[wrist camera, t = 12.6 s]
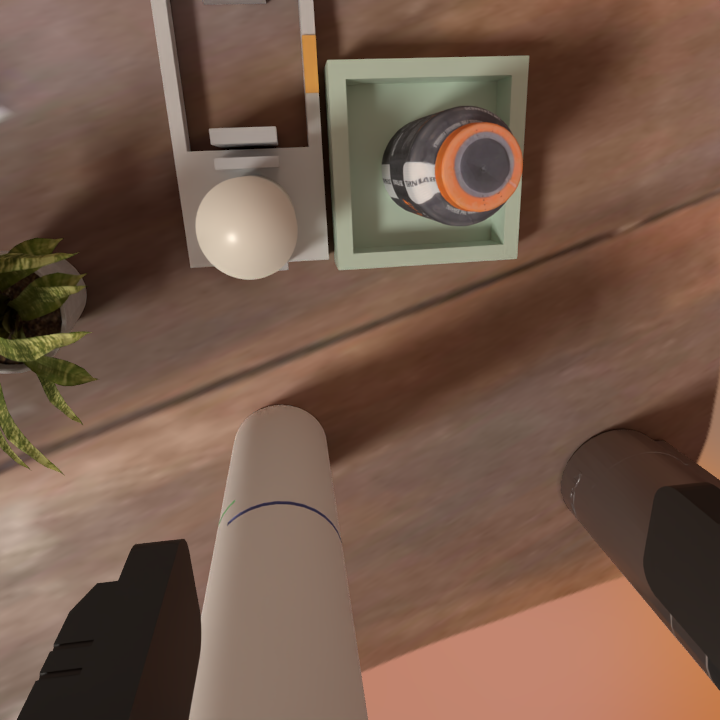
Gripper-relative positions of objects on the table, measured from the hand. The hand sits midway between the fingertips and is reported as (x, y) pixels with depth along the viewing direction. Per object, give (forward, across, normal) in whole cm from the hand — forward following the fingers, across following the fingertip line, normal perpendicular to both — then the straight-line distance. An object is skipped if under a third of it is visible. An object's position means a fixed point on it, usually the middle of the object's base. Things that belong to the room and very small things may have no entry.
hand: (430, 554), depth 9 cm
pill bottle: (+30, -7, -6) cm, 31 cm away
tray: (+30, -7, -6) cm, 31 cm away
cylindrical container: (+30, +4, +14) cm, 34 cm away
